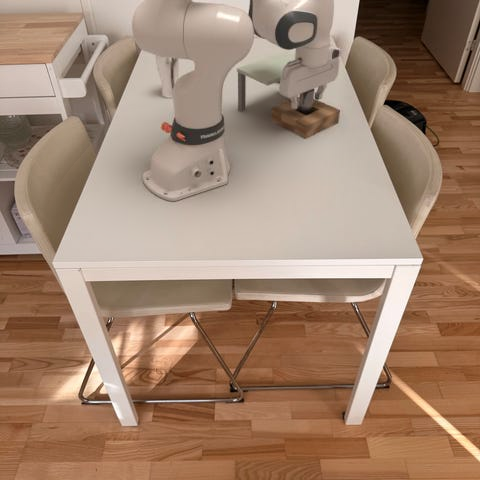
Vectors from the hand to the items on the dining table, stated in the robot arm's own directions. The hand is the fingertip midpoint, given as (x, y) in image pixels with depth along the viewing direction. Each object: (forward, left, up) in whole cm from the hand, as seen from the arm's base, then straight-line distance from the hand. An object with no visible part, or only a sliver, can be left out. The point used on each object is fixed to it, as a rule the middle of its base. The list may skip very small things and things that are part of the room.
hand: (306, 103), depth 130 cm
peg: (0, +1, -6) cm, 6 cm away
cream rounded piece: (-19, +43, -6) cm, 47 cm away
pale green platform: (0, +13, -6) cm, 14 cm away
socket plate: (0, +1, -6) cm, 6 cm away
